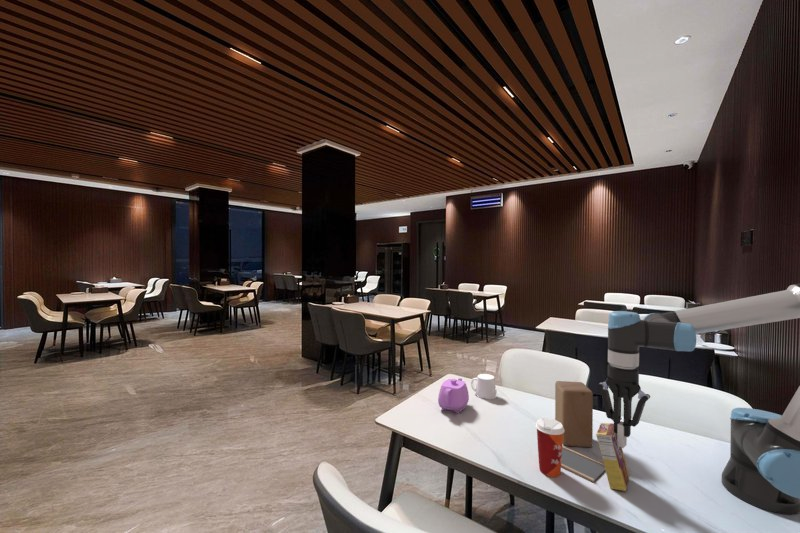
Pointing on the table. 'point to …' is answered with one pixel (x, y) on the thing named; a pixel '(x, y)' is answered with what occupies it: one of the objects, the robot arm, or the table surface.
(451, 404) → the teapot
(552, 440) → the coffee cup
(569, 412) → the wooden block
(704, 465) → the table surface
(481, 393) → the mug
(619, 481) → the candy box
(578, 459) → the grey flat slab
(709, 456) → the table surface
